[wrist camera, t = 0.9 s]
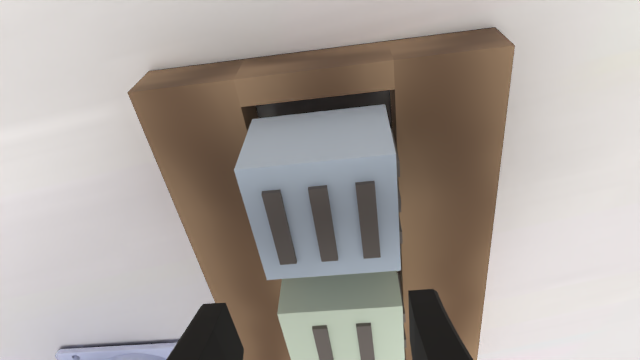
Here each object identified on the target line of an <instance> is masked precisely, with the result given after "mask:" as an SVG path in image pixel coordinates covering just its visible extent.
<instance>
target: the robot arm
mask: <svg viewBox="0 0 640 360" xmlns="http://www.w3.org/2000/svg"><path fill="white" fill-rule="evenodd" d="M408 298H409V331H410V346H411V353H412V360H473V358H472V357H471V355H470V354H469V352H468V350H467V349H466V347H465V345H464V344H463V342H462V340H461V338H460V337H459V335H458V333H457V331H456V329H455V328H454V326H453V324H452V322H451V320H450V318H449V316H448V314H447V312H446V310H445V308H444V306H443V304H442V302H441V299H440V297H439V295H438V292H437V291H435V290H434V289H423V290H408ZM243 355H244V348H243V345H242V343H241V340H240V338H239V335H238V333H237V330H236V328H235V325H234V323H233V320H232V318H231V315H230V313H229V310H228V307H227V305H226V303H212V304H203V305H202V306H201V307H200V309H199V310H198V312H197V313H196V315H195V316H194V318H193V320H192V321H191V323H190V324H189V326H188V327H187V329H186V330H185V332H184V333H183V335H182V336H181V338H180V340H179V341H178V342H177V343H159V344H142V345H124V346H107V347H89V348H72V349H60V350H58V351H57V353H56V355H55V357H56V359H57V360H243Z"/></svg>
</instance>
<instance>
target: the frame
mask: <svg viewBox="0 0 640 360" xmlns="http://www.w3.org/2000/svg"><path fill="white" fill-rule="evenodd" d="M514 48H515V45H514V44H513V43H512V42H510V41H509V40H508V39H507V38H506V37H505V36H504V35H503V34H502V33H501V32H500V31H499V30H497V29H496V28H487V29H479V30H471V31H463V32H455V33H447V34H440V35H432V36H424V37H416V38H408V39H400V40H392V41H384V42H376V43H368V44H360V45H353V46H345V47H337V48H329V49H321V50H313V51H305V52H297V53H289V54H281V55H274V56H266V57H258V58H250V59H242V60H234V61H226V62H218V63H210V64H202V65H195V66H187V67H179V68H171V69H163V70H155V71H149V72H148V73H147V74H146V75H145V76H144V77H143V78H142V79H141V80H140V81H139V82H138V83H137V84H136V85H135V86H134V87H133V88H132V89H131V90H130V91H129V92H128V95H129V97H130V99H131V102H132V104H133V107H134V109H135V111H136V114H137V116H138V119H139V121H140V123H141V126H142V128H143V131H144V133H145V135H146V138H147V140H148V143H149V145H150V147H151V150H152V152H153V155H154V157H155V159H156V162H157V164H158V167H159V169H160V171H161V174H162V176H163V179H164V181H165V183H166V186H167V188H168V190H169V193H170V195H171V198H172V200H173V202H174V205H175V207H176V210H177V212H178V214H179V217H180V219H181V222H182V224H183V226H184V229H185V231H186V234H187V236H188V238H189V241H190V243H191V246H192V248H193V250H194V253H195V255H196V258H197V260H198V262H199V265H200V267H201V270H202V272H203V274H204V277H205V279H206V282H207V284H208V286H209V289H210V291H211V293H212V296H213V298H214V301H215V303H226V305H227V307H228V310H229V313H230V315H231V318H232V320H233V323H234V325H235V328H236V330H237V333H238V335H239V338H240V340H241V343H242V345H243V348H244V355H243V360H291V358H290V355H289V352H288V348H287V345H286V342H285V338H284V335H283V332H282V328H281V325H280V322H279V318H278V315H277V312H278V304H279V297H280V290H281V283H282V279H275V280H267V278H266V275H265V272H264V269H263V265H262V262H261V259H260V255H259V252H258V249H257V245H256V242H255V239H254V235H253V232H252V229H251V225H250V222H249V219H248V215H247V212H246V209H245V205H244V202H243V199H242V195H241V192H240V189H239V185H238V182H237V179H236V175H235V172H234V168H235V166H236V163H237V160H238V157H239V154H240V152H241V149H242V146H243V143H244V140H245V138H246V135H247V132H248V129H249V126H250V124H251V121H252V119H257V118H258V114H257V110H256V106H255V105H264V104H272V103H281V102H290V101H298V100H307V99H316V98H325V97H333V96H342V95H351V94H359V93H368V92H377V91H386V90H390V103H391V124H392V130H393V135H394V139H395V144H396V148H397V152H398V157H399V161H400V177H397V182H398V187H399V191H400V196H401V212H399V217H400V223H401V228H402V240H403V244H400V259H401V271H399V277H400V283H401V290H402V296H403V302H404V309H405V319H406V323H404V328H405V334H406V346H407V348H404V352H405V360H412V353H411V346H410V331H409V298H408V290H423V289H434V290H435V291H437V292H438V295H439V297H440V299H441V302H442V304H443V306H444V308H445V310H446V312H447V314H448V316H449V318H450V320H451V322H452V324H453V326H454V328H455V329H456V331H457V333H458V335H459V337H460V338H461V340H462V342H463V344H464V345H465V347H466V349H467V350H468V352H469V354H470V355H471V357H472V358H473V360H477V355H478V347H479V339H480V330H481V322H482V314H483V305H484V297H485V289H486V280H487V272H488V264H489V255H490V247H491V239H492V230H493V222H494V214H495V206H496V197H497V189H498V181H499V172H500V164H501V156H502V147H503V139H504V131H505V122H506V114H507V106H508V97H509V89H510V81H511V72H512V64H513V56H514Z"/></svg>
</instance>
